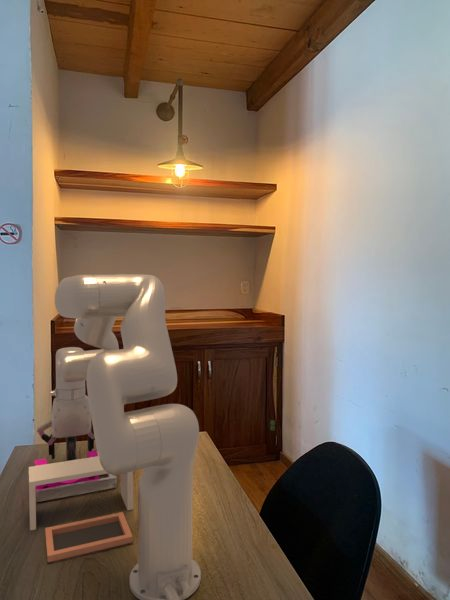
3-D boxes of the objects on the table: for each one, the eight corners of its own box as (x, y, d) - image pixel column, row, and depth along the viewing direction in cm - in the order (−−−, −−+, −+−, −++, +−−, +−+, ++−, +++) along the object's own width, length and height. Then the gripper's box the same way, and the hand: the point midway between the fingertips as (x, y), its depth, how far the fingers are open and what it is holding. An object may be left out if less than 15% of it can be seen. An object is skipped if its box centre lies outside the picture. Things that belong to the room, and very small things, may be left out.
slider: (116, 487, 113) (116, 454, 113) (36, 502, 106) (36, 466, 105) (104, 459, 130) (104, 430, 130) (35, 470, 123) (34, 439, 122)
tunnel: (132, 509, 104) (132, 464, 103) (30, 530, 95) (29, 482, 94) (125, 493, 111) (125, 451, 111) (29, 511, 102) (28, 466, 102)
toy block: (36, 500, 108) (36, 470, 107) (35, 489, 114) (34, 460, 113) (100, 488, 114) (100, 459, 114) (96, 477, 120) (95, 450, 120)
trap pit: (132, 543, 91) (132, 536, 91) (47, 563, 85) (47, 556, 84) (122, 518, 100) (122, 511, 100) (45, 535, 94) (45, 528, 94)
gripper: (36, 400, 116) (38, 465, 117) (105, 393, 123) (106, 454, 124) (36, 392, 123) (37, 454, 124) (101, 386, 130) (101, 444, 131)
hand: (71, 454), depth 124 cm, fingers open, 9 cm apart
